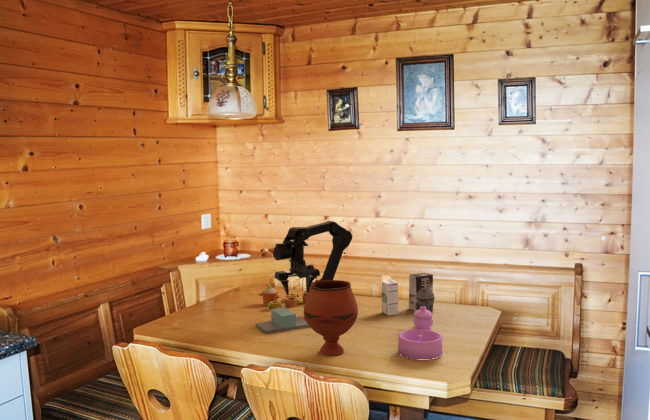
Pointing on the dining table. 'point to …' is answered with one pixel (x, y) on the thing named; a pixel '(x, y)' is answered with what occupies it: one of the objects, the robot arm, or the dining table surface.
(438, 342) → the container set
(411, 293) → the coffee box
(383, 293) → the syrup box
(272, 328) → the plate
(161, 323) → the dining table surface
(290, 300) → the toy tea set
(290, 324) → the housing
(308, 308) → the goblet
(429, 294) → the beverage cup
